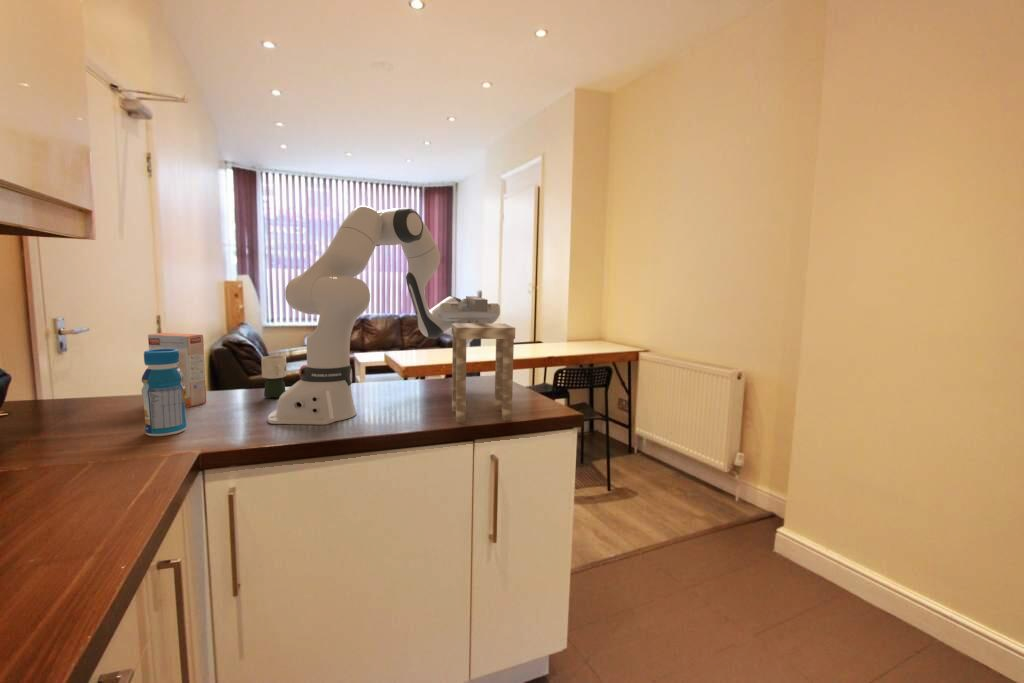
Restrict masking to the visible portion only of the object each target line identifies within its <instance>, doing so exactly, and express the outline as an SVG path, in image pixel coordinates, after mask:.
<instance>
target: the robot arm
mask: <svg viewBox="0 0 1024 683" xmlns="http://www.w3.org/2000/svg"><path fill="white" fill-rule="evenodd" d="M397 245H398V246H399V245H400V246H401V249H402V250H403V253H404V256H405V257H406V258H405V259H406V261H407V267H408V268H407V274H406V275H405V279H406V285H407V289H408V293H409V296H410V299H411V302H412V305H413V310H414V312H415V315H416V316H415V317H416V322H417V328H418V329H419V331H420V333H421V334H422V335H423V336H424V337H425V338H427V339H431V340H432V339H433V340H434V339H438V338H440V336H442V335H443V334H444V333H445V332H446V331H447V330H449V329H450V328H452V323H483V324H495V323H496V322H497V321H498V319H499V316H500V315H501V307H500V306H501V305H500V304H499V303H496V302H495V303H490V302H488V304H487V312H475V311H473V310H471V309H469V308H467V307H466V306H467V299H466V298H462V299H461V298H458V297H456V296H452V295H451V296H450V295H449V296H447V297H446V298H444V299H443V300H441V301H440V302H439V303H437V304H436V305H434V306H433V307H431V308H430V309H429V305H428V300H427V298H426V294H425V290H426V287H427V284H428V283H429V281H430V279H431V278H432V277H433V275H434V274H435V273H436V272H437V270H438V268H439V266H440V263H441V253H440V250H439V248H438V245H437V244H436V241H435V239H434V237H433V235H432V233H431V231H430V230H429V228H428V227H427V225H426V224H425V223H424V221H423V219H422V218H421V215H419V213H418V212H417V211H416V210H415V209H413V208H410V207H399V208H386V209H380V210H376V209H374V208H373V207H371V206H367V205H360V206H356V207H355V208H354V209H353V210H352V211H351V212H349V214H348V215H347V216H346V218H345V219H344V220H343V221H342V223H341V225H340V227H339V228H338V231H337V232H336V234H335V235H334V237H333V239H332V240H331V242H330V243H329V245H328V247H327V249H326V250H325V251H324V252H323V253H322V255H321V256H320V257H319V258H318V259H317V260H316V261H315V262H314V263H313V264H312V265H311V266H310V267H309V268H307V269H306V270H305V271H304V272H302V273H301V274H300V275H297V276H296V277H294V278H292V279H291V280H289V281H288V282H287V284H286V287H285V293H284V295H285V300H286V302H287V304H288V306H289V307H290V308H292V309H293V310H295V311H298V312H300V313H302V314H307V315H317V316H319V317H318V318H319V319H318V322H317V325H316V328H315V329H314V331H312V332H311V333H309V335H308V336H307V338H306V364H303V365H302V366H300V367H299V370H298V376H299V378H298V379H299V380H298V381H296V382H295V383H294V384H292V385H291V386H290V387H288V388H287V389H285V390H286V391H285V392H284V393H283V394H282V395H281V396H280V397H278V400H277V405H276V406H277V407H276V409H275V410H273V411H272V412H270V413H269V414H268V415H267V422H268V423H269V424H270V425H271V424H273V425H274V424H275V425H277V424H279V425H280V424H282V425H321V426H322V425H329V424H332V423H334V422H339V421H343V420H347V419H350V418H352V417H355V416H356V415H357V409H356V408H355V407H356V406H355V402H354V399H353V398H354V397H353V392H352V382H353V369H352V365H351V364H350V363H351V362H350V359H351V358H350V356H351V353H350V350H351V349H350V348H351V335H352V331H353V329H354V326H355V323H356V322H357V320H358V319H359V317H360V316H361V315H362V314H363V313H364V312H365V311H366V310H367V308H368V307H369V306H370V305H369V304H370V299H371V293H370V290H369V287H368V285H367V284H366V283H365V282H364V281H363V280H362V279H359V278H356V277H357V276H359V275H360V274H361V273H362V272H364V270H365V268H366V267H367V265H368V264H369V263H368V262H370V259H371V257H372V255H373V253H374V251H375V249H376V247H380V246H397ZM473 340H474V339H466V345H468V344H469V343H471V342H472V341H473Z"/></svg>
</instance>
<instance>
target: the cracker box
mask: <svg viewBox="0 0 1024 683" xmlns="http://www.w3.org/2000/svg"><path fill="white" fill-rule="evenodd" d="M147 338H148V339H147V340H148V350H154V349H177V350H178V352H179V363H178V364H176V366H177V367H178V368H179V369H180V370H181V371H182V373H183V375H184V379H183V384H184V385H185V392H184V399H185V408H186V407H187V408H191V407H195V406H198V405H199V406H200V405H203V404H206V403H207V390H206V388H207V387H206V368H205V349H204V348H205V347H204V344H205V343H204V335H203V334H194V333H193V334H192V333H177V332H175V333H174V332H172V333H171V332H160V333H150V334H148V335H147Z"/></svg>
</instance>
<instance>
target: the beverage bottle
mask: <svg viewBox="0 0 1024 683" xmlns="http://www.w3.org/2000/svg"><path fill="white" fill-rule="evenodd" d="M143 362H144V365H145V366H147V367H146V369H145V371H144V372H143V374H142V377H141V382H142V383H143V386H142V388H141V395H142V398H143V399H142V400H143V412H144V424H145V425H144V432H145V434H146V435H147V436H149V437H150V436H151V437H164V436H165V437H167V436H171V435H176V434H180V433H182V432H184V431H185V430H186V429H187V421H186V407H185V399H184V392H185V385H184V384H183V379H184V375H183V373H182V371H181V370H180V369H179V368H178V367H177V366H176V364H178V363H179V352H178V350H177V349H154V350H149V349H148V350H145V351H144V352H143Z"/></svg>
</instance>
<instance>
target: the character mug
mask: <svg viewBox="0 0 1024 683" xmlns="http://www.w3.org/2000/svg"><path fill="white" fill-rule="evenodd" d="M260 362H261V377H262V378H264V379H266V380H265V383H264V393H263V397H264V398H275V399H279V398H280V396H281V395H282V394H283V393H284V392H285V391H286V390H287V389H286V384H285V381H284V379H283V378H284V377H286V376H287V374H288V371H287V363H288V362H287V357H286V356H285V355H267V356H263V357H261V361H260Z"/></svg>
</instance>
